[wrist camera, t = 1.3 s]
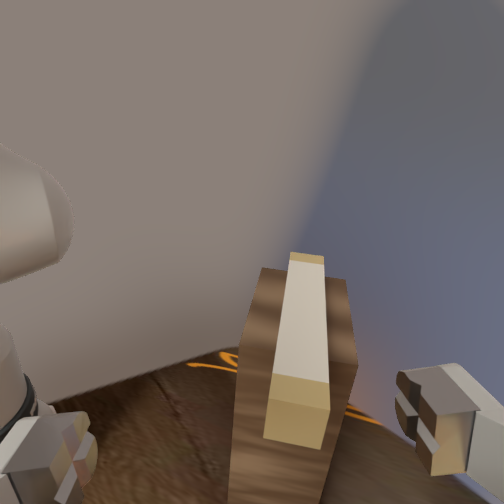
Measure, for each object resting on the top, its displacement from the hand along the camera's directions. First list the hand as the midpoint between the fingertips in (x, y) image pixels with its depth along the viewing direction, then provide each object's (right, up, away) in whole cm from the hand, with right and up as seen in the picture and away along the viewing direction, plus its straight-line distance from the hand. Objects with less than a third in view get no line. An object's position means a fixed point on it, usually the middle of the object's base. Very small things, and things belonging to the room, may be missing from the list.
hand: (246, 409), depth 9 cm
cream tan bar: (+4, -4, +21) cm, 22 cm away
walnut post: (+3, -25, +37) cm, 45 cm away
